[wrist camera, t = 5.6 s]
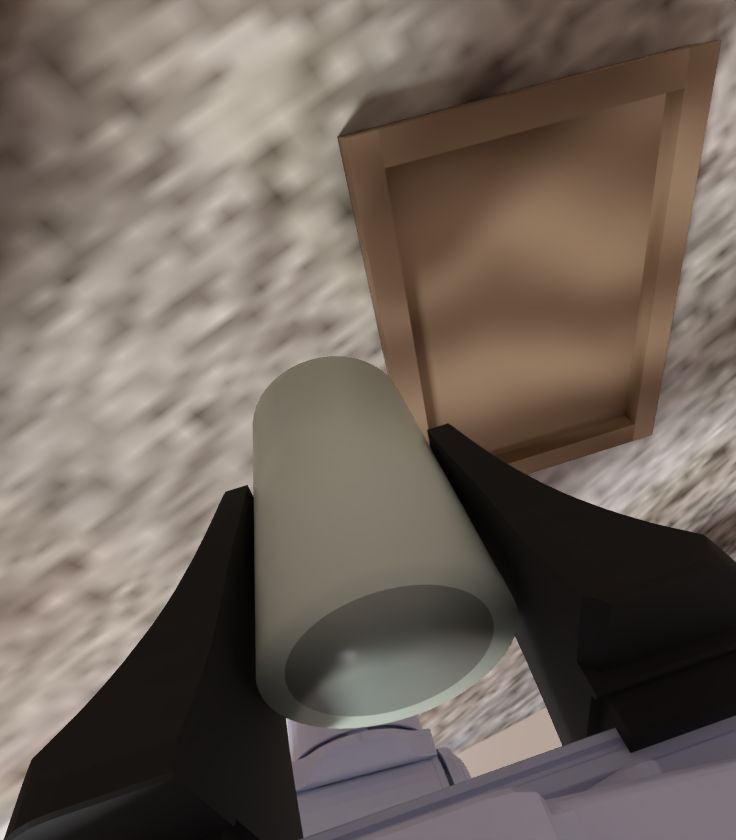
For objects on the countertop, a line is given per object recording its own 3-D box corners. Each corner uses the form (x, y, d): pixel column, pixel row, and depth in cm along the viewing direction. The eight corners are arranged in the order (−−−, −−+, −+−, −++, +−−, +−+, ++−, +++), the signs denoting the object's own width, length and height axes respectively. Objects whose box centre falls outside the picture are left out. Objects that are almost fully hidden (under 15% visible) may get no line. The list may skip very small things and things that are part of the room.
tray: (634, 420, 28) (651, 434, 27) (412, 490, 27) (420, 507, 26) (688, 45, 18) (721, 39, 17) (337, 137, 17) (344, 138, 16)
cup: (415, 461, 17) (521, 679, 10) (281, 502, 17) (302, 755, 10) (389, 336, 14) (514, 527, 7) (228, 384, 14) (209, 626, 7)
